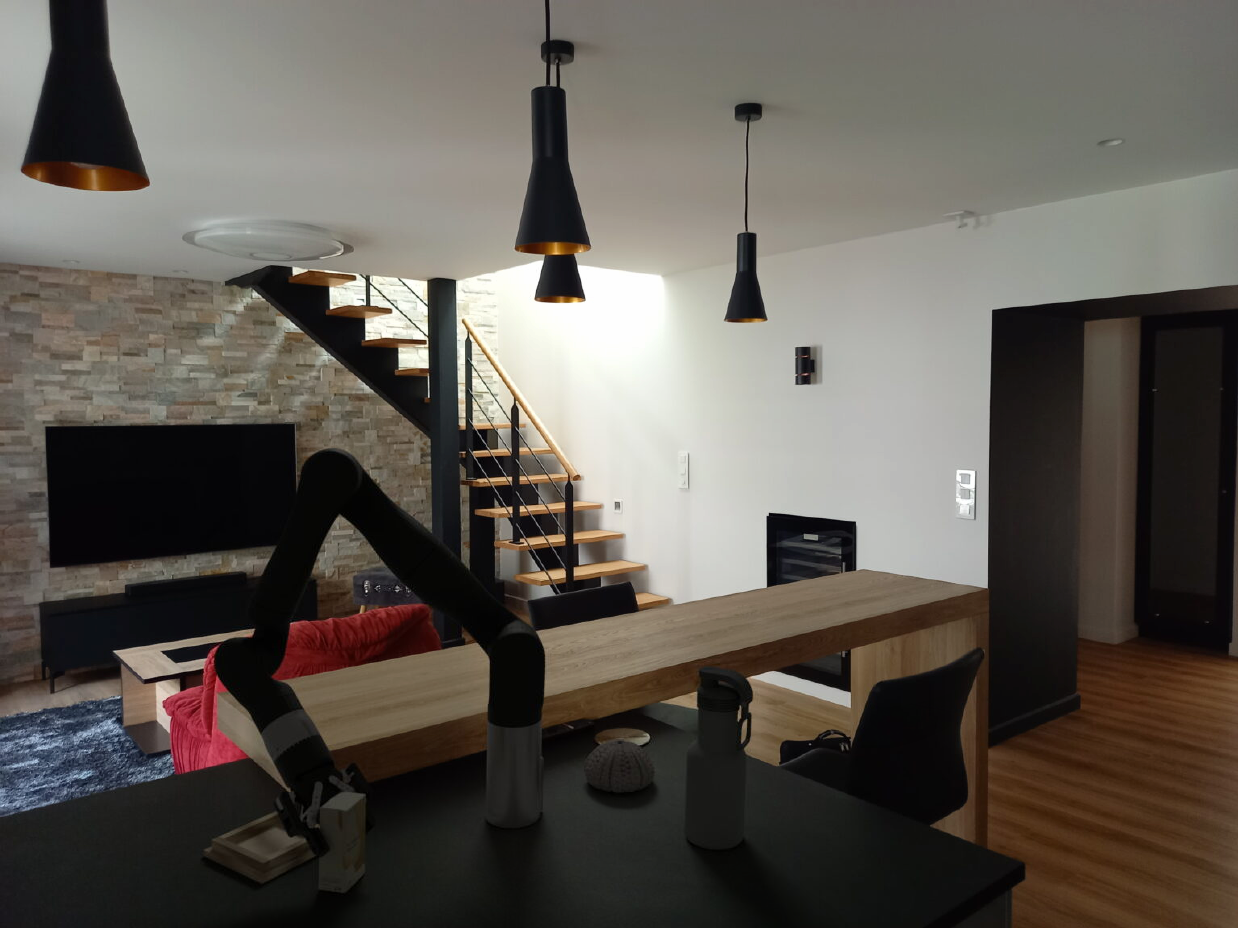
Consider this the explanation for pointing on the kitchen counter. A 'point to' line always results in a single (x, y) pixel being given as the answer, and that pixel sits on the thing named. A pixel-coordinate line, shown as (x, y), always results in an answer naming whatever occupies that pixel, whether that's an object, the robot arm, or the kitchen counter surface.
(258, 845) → the tray
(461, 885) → the kitchen counter surface
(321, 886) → the skincare box
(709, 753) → the water bottle
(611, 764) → the sea urchin shell
